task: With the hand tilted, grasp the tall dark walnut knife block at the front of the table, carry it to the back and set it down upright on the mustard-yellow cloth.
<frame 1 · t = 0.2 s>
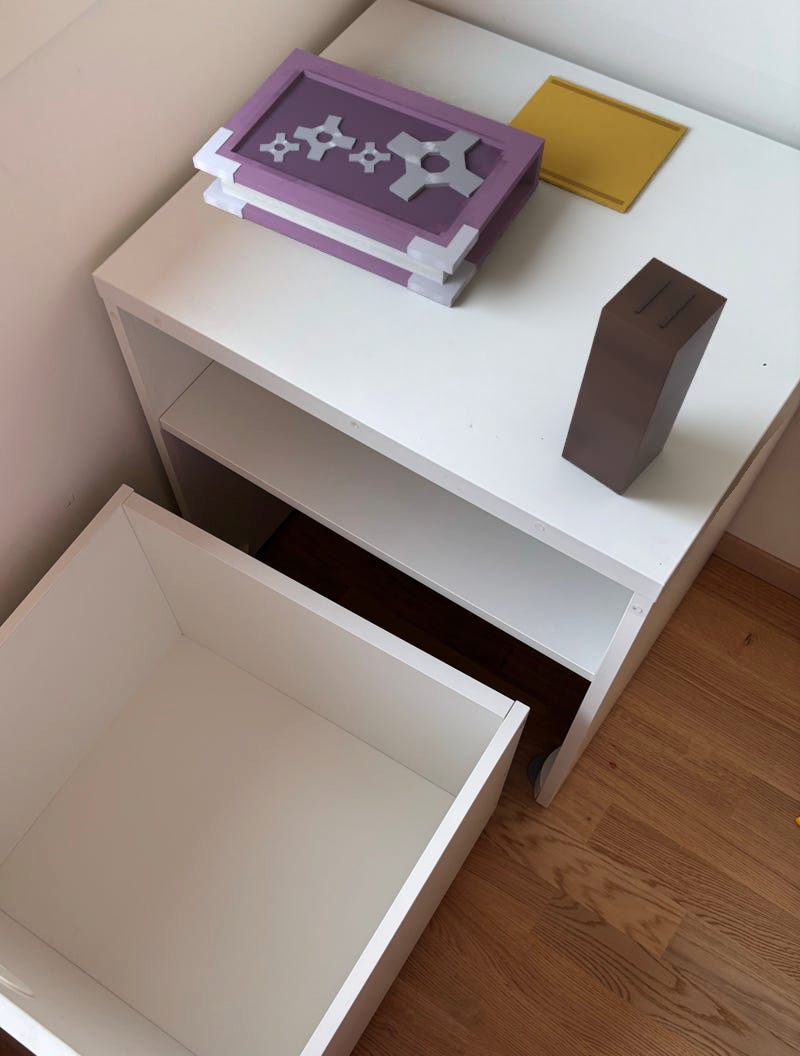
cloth: (585, 142, 90), on the nightstand
book: (369, 198, 89), on the nightstand
knife block: (611, 453, 76), on the nightstand
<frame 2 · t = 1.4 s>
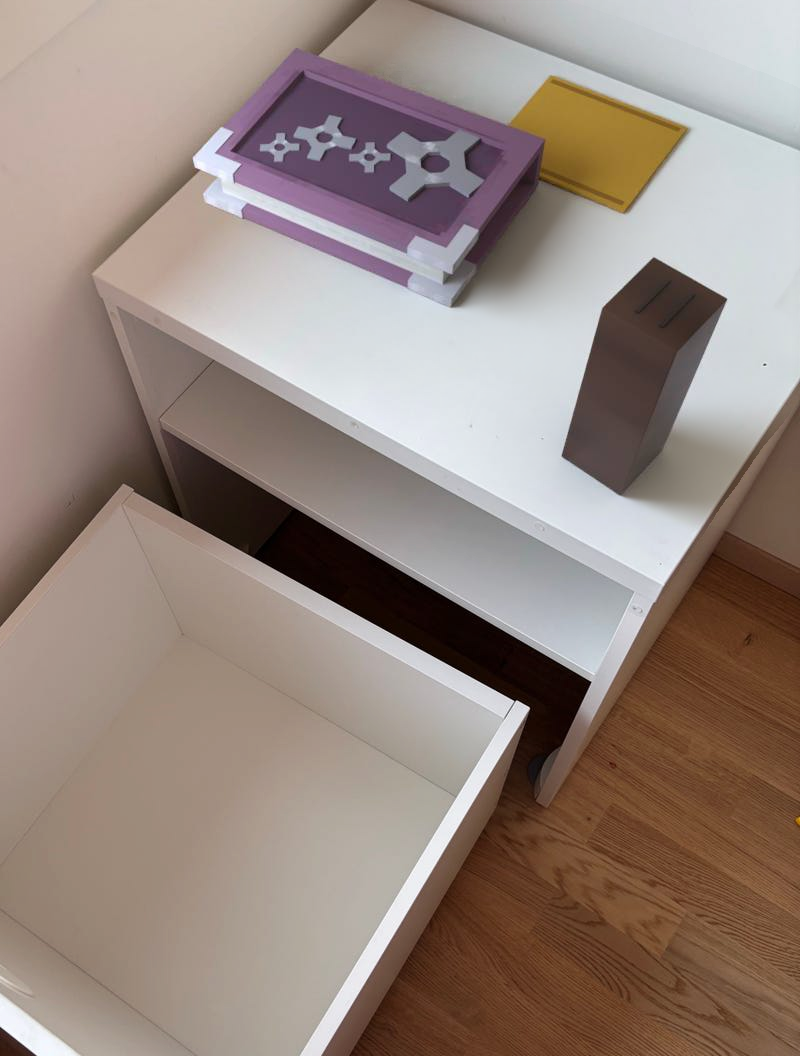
nothing on the nightstand moved.
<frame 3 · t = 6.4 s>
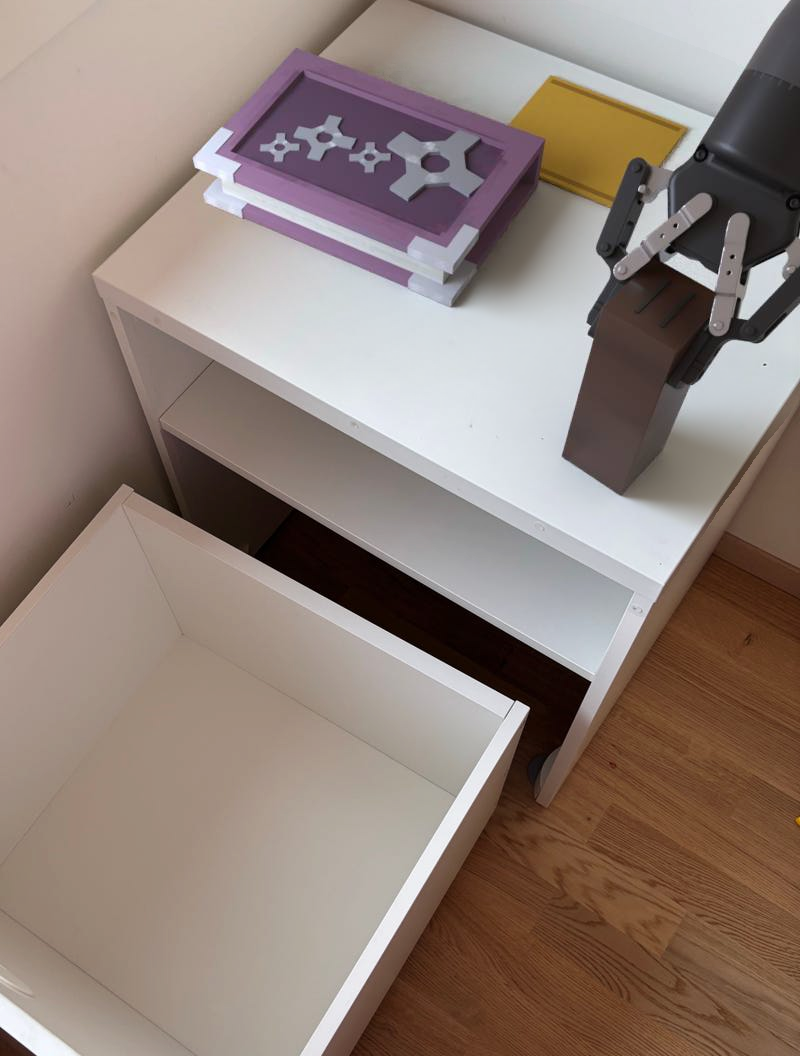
hand: (634, 361, 65), 12 cm above the nightstand, tool tilted 45°, fingers closed on knife block, 5 cm apart
knife block: (612, 453, 76), on the nightstand, touching gripper
everything else where it was.
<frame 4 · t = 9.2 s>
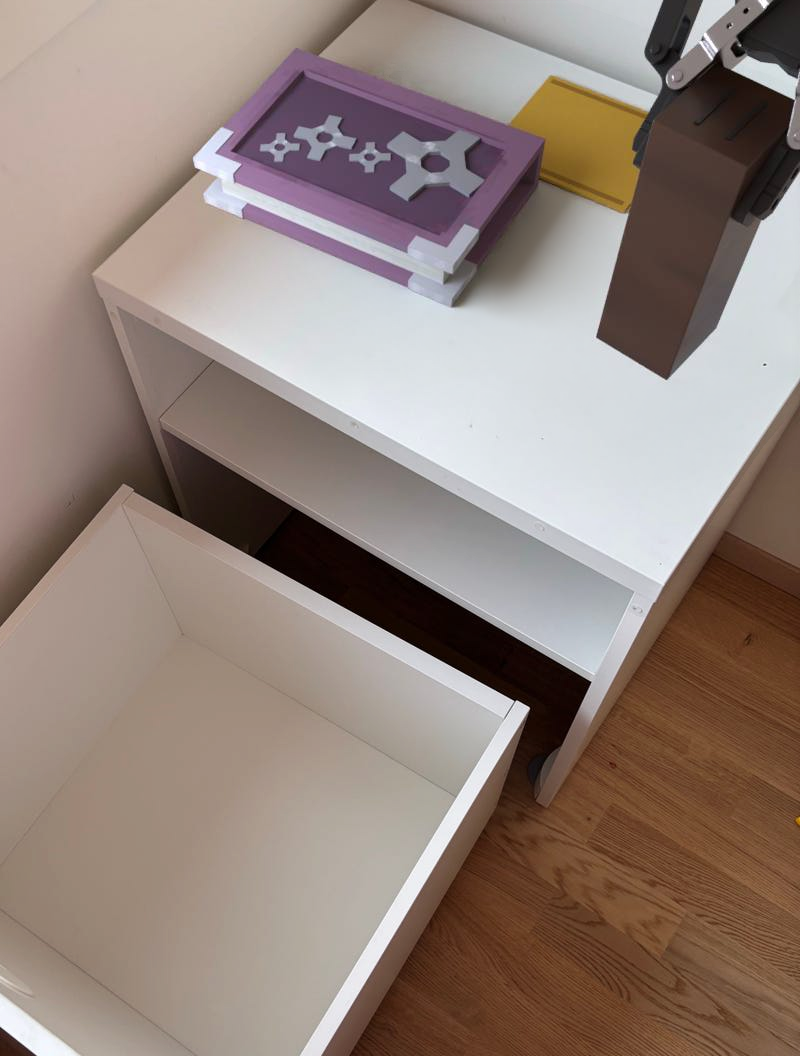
hand: (690, 194, 53), 25 cm above the nightstand, tool tilted 45°, fingers closed on knife block, 5 cm apart
knife block: (655, 333, 65), point 13 cm above the nightstand, touching gripper
everything else where it was.
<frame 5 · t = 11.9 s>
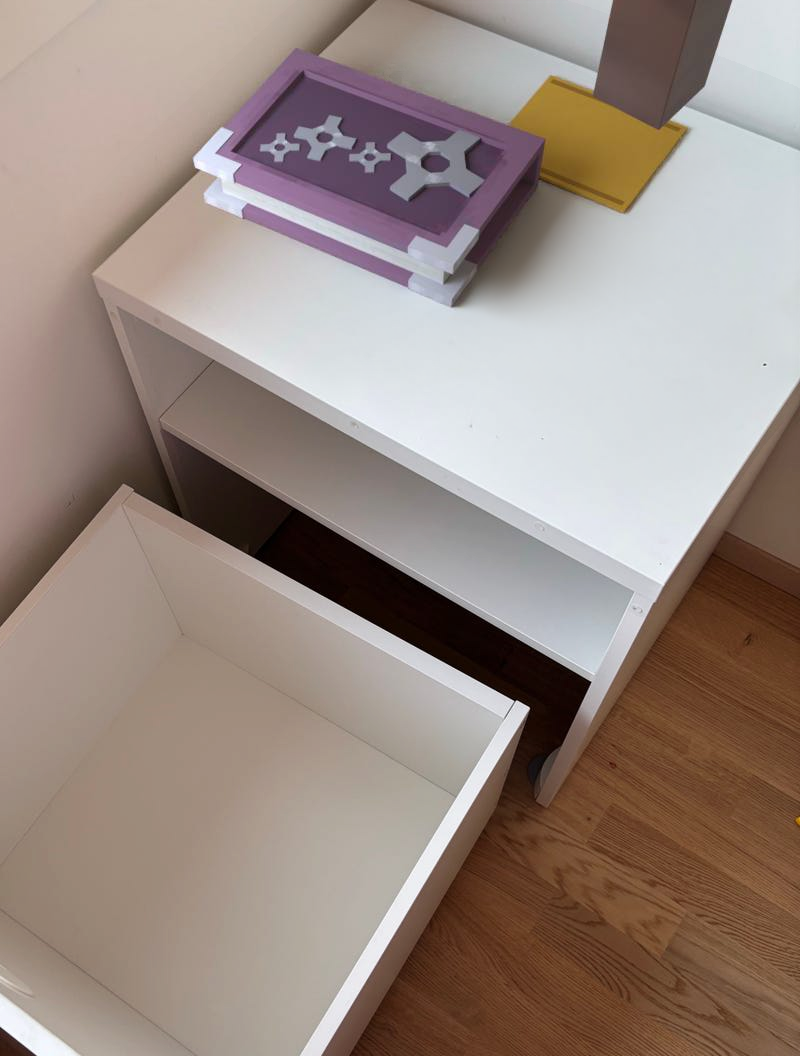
knife block: (648, 91, 69), point 16 cm above the nightstand, touching gripper
everything else where it was.
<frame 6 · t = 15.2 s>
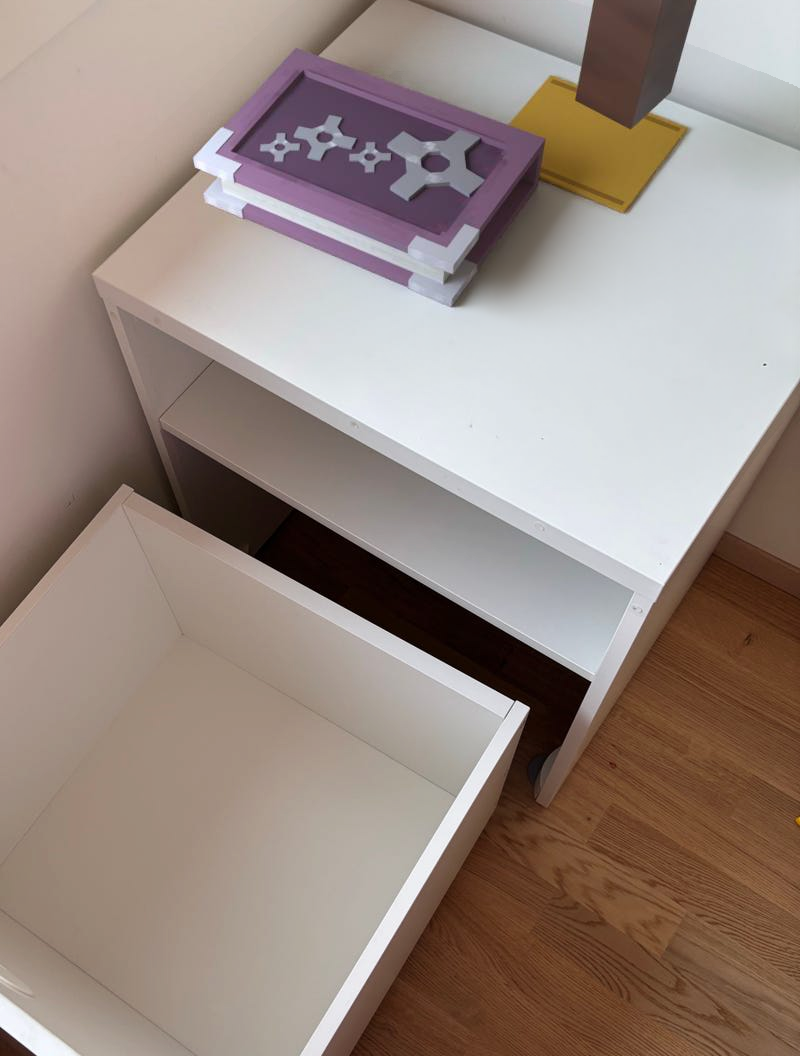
knife block: (622, 96, 81), point 8 cm above the nightstand, touching gripper
everything else where it was.
when the fingers open (13 cm above the nightstand, at t = 17.8 s): knife block stays where it is, resting on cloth.
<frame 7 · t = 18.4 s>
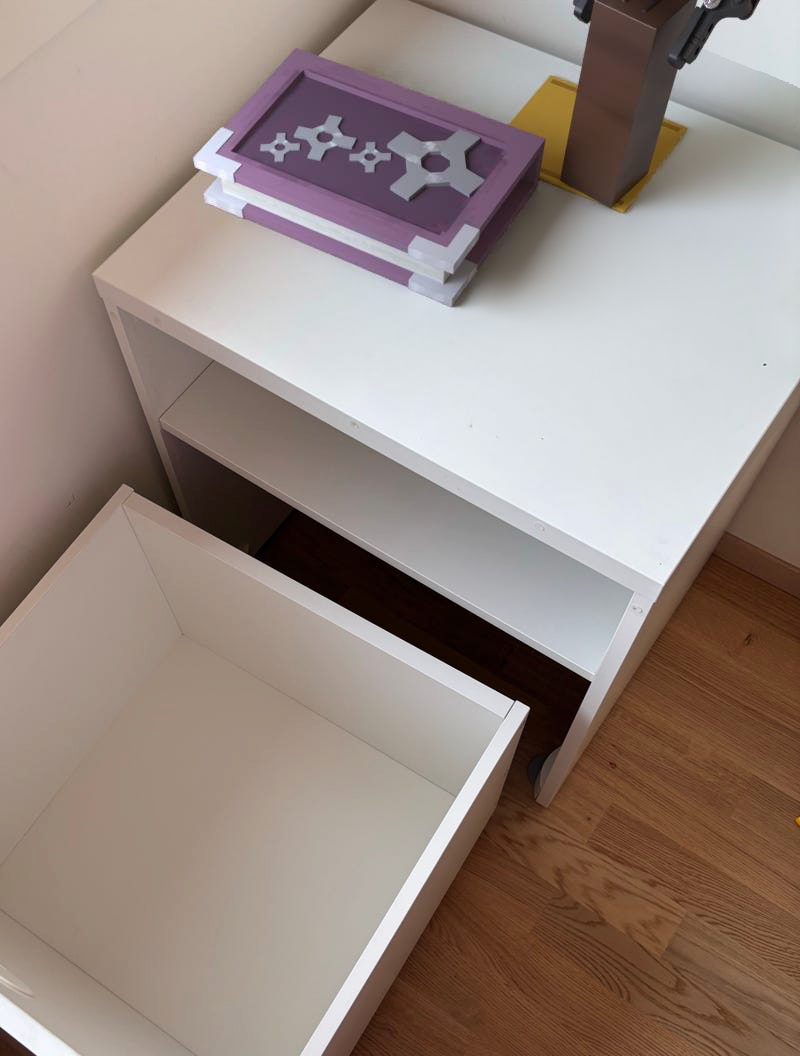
hand: (626, 42, 75), 14 cm above the nightstand, tool tilted 45°, fingers open, 8 cm apart
knife block: (603, 177, 88), resting on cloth
everything else where it was.
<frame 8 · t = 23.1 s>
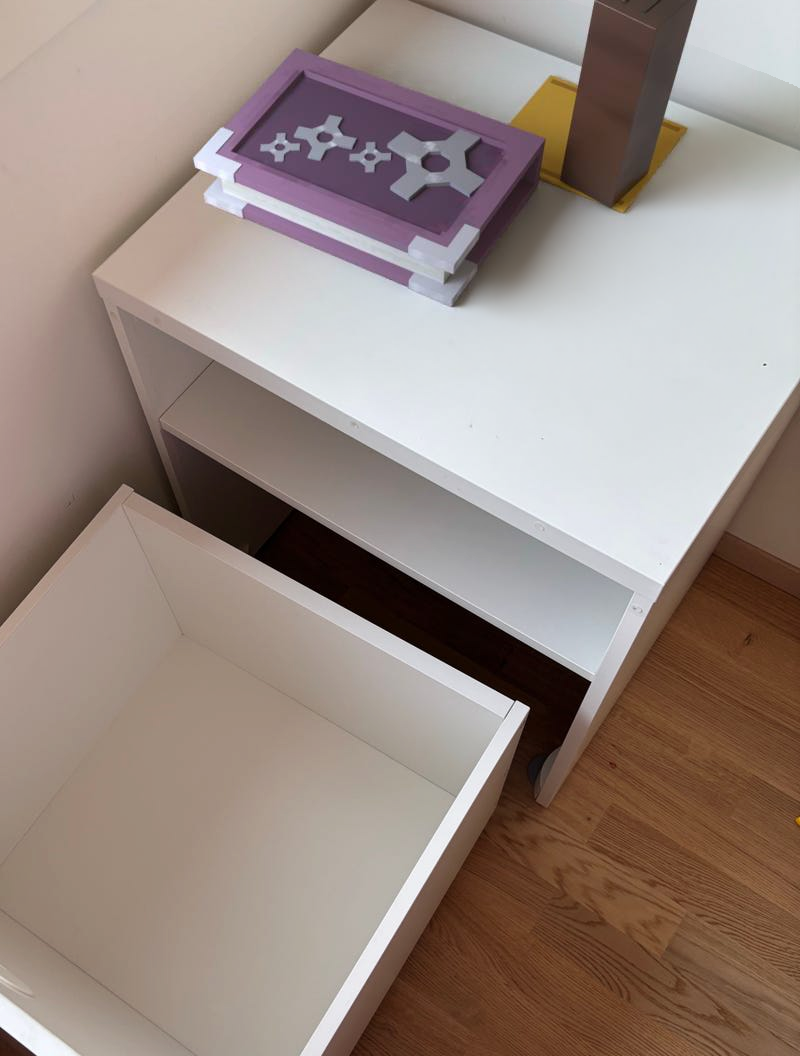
nothing on the nightstand moved.
at the end: knife block inside the target area on the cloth (1.1 cm from its centre), point 0.3 cm above the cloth's base; knife block tilted 0°; the gripper is holding nothing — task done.
